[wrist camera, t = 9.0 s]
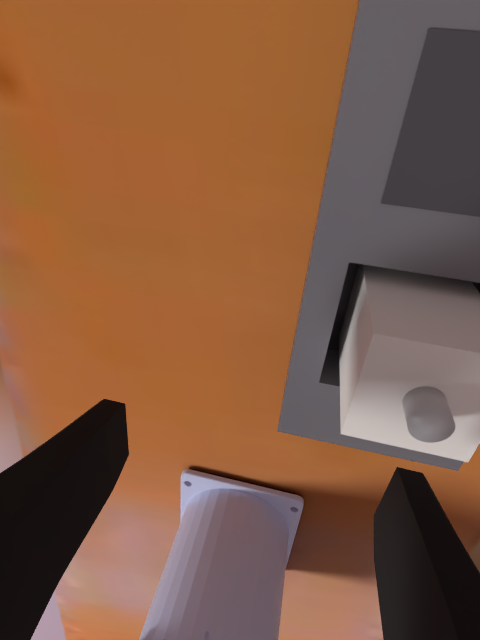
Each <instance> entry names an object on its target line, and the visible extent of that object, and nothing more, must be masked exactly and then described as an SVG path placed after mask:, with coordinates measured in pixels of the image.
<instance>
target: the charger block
mask: <svg viewBox="0 0 480 640" xmlns="http://www.w3.org/2000/svg"><path fill="white" fill-rule="evenodd" d="M339 366H340V427H341V434H342V435H347V436H351V437H356V438H360V439H365V440H369V441H374V442H379V443H383V444H388V445H392V446H397V447H401V448H406V449H410V450H415V451H419V452H424V453H428V454H433V455H437V456H442V457H446V458H451V459H455V460H460V461H464V462H468V461H469V460H470V458H471V457H472V455H473V453H474V452H475V450H476V448H477V447H478V445H479V443H480V293H479V292H478V290H477V289H476V287H475V286H474V285H473V283H472V282H471V281H465V280H458V279H452V278H446V277H439V276H433V275H427V274H420V273H414V272H408V271H401V270H395V269H389V268H382V267H376V266H370V265H363V264H359V266H358V269H357V273H356V277H355V280H354V284H353V288H352V291H351V295H350V299H349V302H348V306H347V309H346V313H345V317H344V320H343V324H342V328H341V331H340V335H339Z"/></svg>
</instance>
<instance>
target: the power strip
mask: <svg viewBox="0 0 480 640" xmlns="http://www.w3.org/2000/svg"><path fill="white" fill-rule="evenodd" d="M359 264H363V265H370V266H376V267H382V268H389V269H395V270H401V271H408V272H414V273H420V274H427V275H433V276H439V277H446V278H452V279H458V280H465V281H471V282H472V283H473V285H474V286H475V287H476V289H477V290H478V292H479V293H480V0H359V3H358V8H357V13H356V18H355V23H354V29H353V34H352V39H351V44H350V50H349V55H348V60H347V65H346V71H345V76H344V81H343V86H342V91H341V97H340V102H339V107H338V112H337V118H336V123H335V128H334V133H333V138H332V144H331V149H330V154H329V159H328V165H327V170H326V175H325V180H324V185H323V191H322V196H321V201H320V206H319V212H318V217H317V222H316V227H315V232H314V238H313V243H312V248H311V253H310V259H309V264H308V269H307V274H306V279H305V285H304V290H303V295H302V300H301V306H300V311H299V316H298V321H297V327H296V332H295V337H294V342H293V347H292V353H291V358H290V363H289V368H288V374H287V379H286V384H285V389H284V395H283V401H282V407H281V413H280V419H279V425H278V432H283V433H288V434H292V435H297V436H301V437H306V438H310V439H315V440H319V441H324V442H329V443H333V444H338V445H342V446H347V447H351V448H356V449H360V450H365V451H370V452H374V453H379V454H383V455H388V456H392V457H397V458H402V459H406V460H411V461H415V462H420V463H424V464H429V465H433V466H438V467H443V468H447V469H452V470H456V471H458V470H459V469H460V467H461V465H462V463H463V462H464V461H460V460H455V459H451V458H446V457H442V456H437V455H433V454H428V453H424V452H419V451H415V450H410V449H406V448H401V447H397V446H392V445H388V444H383V443H379V442H374V441H369V440H365V439H360V438H356V437H351V436H347V435H342V434H341V427H340V366H339V335H340V331H341V328H342V324H343V320H344V317H345V313H346V309H347V306H348V302H349V299H350V295H351V291H352V288H353V284H354V280H355V277H356V273H357V269H358V266H359Z"/></svg>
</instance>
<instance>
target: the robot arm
mask: <svg viewBox="0 0 480 640" xmlns="http://www.w3.org/2000/svg"><path fill="white" fill-rule="evenodd" d="M128 455H129V450H128V436H127V422H126V409H125V404H124V403H120V402H116V401H111V400H107V399H103V400H102V401H100V402H99V403H98V404H96V405H95V406H93V407H92V408H91V409H89V410H88V411H87V412H86V413H84V414H83V415H82V416H80V417H79V418H78V419H76V420H75V421H74V422H72V423H71V424H70V425H68V426H67V427H66V428H64V429H63V430H62V431H60V432H59V433H58V434H56V435H55V436H53V437H52V438H51V439H49V440H48V441H46V442H45V443H44V444H42V445H41V446H39V447H38V448H37V449H35V450H34V451H32V452H31V453H30V454H28V455H27V456H25V457H24V458H22V459H21V460H20V461H18V462H16V463H15V464H14V465H12V466H11V467H9V468H7V469H6V470H4V471H3V472H1V473H0V640H30V639H31V637H32V635H33V633H34V631H35V629H36V627H37V625H38V623H39V621H40V619H41V617H42V614H43V613H44V611H45V609H46V606H47V604H48V602H49V600H50V598H51V596H52V594H53V592H54V590H55V588H56V587H57V585H58V583H59V581H60V579H61V577H62V576H63V574H64V572H65V570H66V569H67V567H68V565H69V563H70V562H71V560H72V558H73V557H74V555H75V553H76V552H77V550H78V548H79V547H80V545H81V543H82V542H83V540H84V538H85V537H86V535H87V533H88V532H89V530H90V528H91V526H92V525H93V523H94V521H95V520H96V518H97V516H98V515H99V513H100V511H101V510H102V508H103V506H104V504H105V503H106V501H107V499H108V498H109V496H110V494H111V492H112V491H113V489H114V486H115V484H116V482H117V480H118V478H119V476H120V473H121V471H122V469H123V466H124V464H125V462H126V460H127V457H128ZM303 506H304V500H303V498H302V497H300V496H298V495H295V494H291V493H287V492H282V491H278V490H274V489H270V488H266V487H262V486H257V485H253V484H249V483H245V482H241V481H237V480H232V479H228V478H224V477H220V476H216V475H211V474H207V473H203V472H199V471H195V470H191V469H186V470H184V471H183V472H182V475H181V521H180V526H179V529H178V531H177V534H176V537H175V540H174V543H173V545H172V548H171V551H170V554H169V557H168V559H167V562H166V565H165V568H164V571H163V573H162V576H161V579H160V582H159V585H158V587H157V590H156V593H155V596H154V599H153V601H152V604H151V607H150V610H149V613H148V615H147V618H146V621H145V624H144V627H143V629H142V632H141V635H140V638H139V640H278V636H279V626H280V616H281V607H282V597H283V587H284V578H285V570H286V566H287V563H288V559H289V556H290V552H291V549H292V545H293V541H294V538H295V534H296V531H297V527H298V524H299V520H300V517H301V513H302V510H303ZM374 562H375V571H376V580H377V588H378V597H379V605H380V613H381V621H382V630H383V638H384V640H480V573H479V571H478V569H477V568H476V566H475V565H474V563H473V561H472V559H471V558H470V556H469V554H468V553H467V551H466V549H465V548H464V546H463V544H462V543H461V541H460V539H459V537H458V536H457V534H456V532H455V530H454V529H453V527H452V525H451V523H450V521H449V520H448V518H447V516H446V514H445V512H444V511H443V509H442V507H441V505H440V503H439V502H438V500H437V498H436V496H435V494H434V492H433V491H432V489H431V487H430V485H429V483H428V481H427V480H426V478H425V476H424V475H423V473H420V472H416V471H411V470H407V469H403V468H398V467H397V468H396V470H395V473H394V475H393V477H392V479H391V481H390V483H389V485H388V487H387V489H386V491H385V493H384V495H383V498H382V500H381V502H380V504H379V506H378V508H377V510H376V512H375V514H374Z"/></svg>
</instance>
